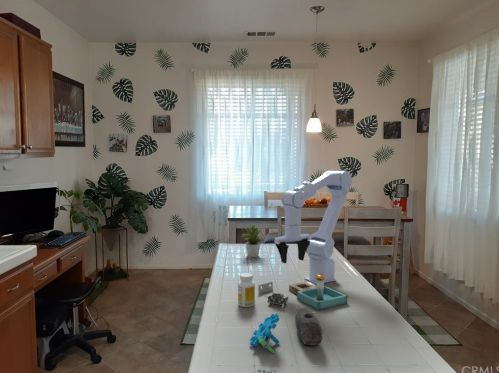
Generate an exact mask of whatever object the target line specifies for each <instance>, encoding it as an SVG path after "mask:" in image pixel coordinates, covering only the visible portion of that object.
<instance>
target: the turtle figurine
mask: <svg viewBox="0 0 499 373" xmlns="http://www.w3.org/2000/svg"><path fill="white" fill-rule="evenodd" d="M272 293H273V294H272V296H269V297H268V298H267V302H266V303H268V306H267V307H269V306H271V305H272V306H277V307H281V309H283V308H285V307H286V306H287V305H288V304H287V298H286V299H285V298H283V297H282V295H281V294H277V293H274V292H272Z"/></svg>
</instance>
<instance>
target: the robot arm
mask: <svg viewBox="0 0 499 373" xmlns="http://www.w3.org/2000/svg"><path fill="white" fill-rule="evenodd" d="M352 184H353V178H352V174H351V172H349V171H348V170H330V169H329V170H327V171H325V172H324V171H323V173H322V174H321V176H319V177H318V178H316V179H314V180H313V181H312V182H310V181H303V182H302V184H300V185H299V186H296V187H294V188H293V190H286V192H284V193H283V195H282V198H281V203H282V205H283V210H284V235H281V236H278V237H274V245H275V247H276V248H277V251H278V254H279V257H280V261H281V263H283V264H287V260H288V250H289V246H290V245H288V244H287V243H294V242H296V245H297V258H298V260H299V261H304V258H305V255H306V254H307V257H309V259H308V260H309V263H308V266H309V268H308V272H309V273H308V276H304V280H307V281H308V282H311V283H313V284H316V285H317V279H316V275H317V274H323V275H325V279H324V284H325V283H330V282H335V281H336V280H337V279H336V278H335V272H336V270H335V266H336V265H335V260H334V258H333V257H332V256H333V254H334V253H333V252H334V247H335V246H334V245H335V243H336V242H335V240H334V238H333V236H332V235H333V232H334V230H335V228H336V225H337V222H338V219H339V217H340V215H341V212H342V210H343V207H344V204H345V202H346V199H347V196H348V194H349V191H350V189H351V186H352ZM325 187H326V189H327V191H328V192H329V193H330V194H331V198H330V200H329V203H328V205H327V207H326V210H325V211H324V212H325V213H324V215H323V217H322V220H321V222H320V225H319V227H318V230H317V231H315V232H314V233H312V234H310V233H302V207H304V205H305V203H306V201H307V200H309V199H311V198H313V197H315V196H316V193H317V191H318V190H320V189H322V188H325Z"/></svg>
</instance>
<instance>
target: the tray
mask: <svg viewBox="0 0 499 373" xmlns="http://www.w3.org/2000/svg"><path fill="white" fill-rule="evenodd" d="M296 299H297V300H298V301H300V302H302V303H304V304H306V305H308V306H310V307H312V308H313V309H314V310H317V311H318V312H319V311H322V310H327V309H331V308H333V307H337V306H338V307H339V306H341V305H346V304H348V295H347V294H344V293H342V292H341V291H338V290H335V289H333V288H331V287H328V286H326V285H324V300H317V299H316V288H312V289H307V290H303V291H298V292H297V294H296Z"/></svg>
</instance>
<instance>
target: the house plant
mask: <svg viewBox="0 0 499 373" xmlns="http://www.w3.org/2000/svg"><path fill="white" fill-rule="evenodd" d="M241 226H242V227H244V228H242V227H241V230H243V231H244V233H241V236H240V238H242V237H244V238H243V240H244V241H247V242H245V247H246V248H245V249H246V254H247V257H249V258H258V257H259V254H260V248H261V242H259V241H260V240H261V238H260V237H261V236H262V234H261V235H260V233H261V232H262V230H263V228H260V226H259V225H257V224H256V223H253V222H252V223H251V225H249V226H248V229H247V227H246V226H245V225H242V224H241ZM259 228H260V229H259Z"/></svg>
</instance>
